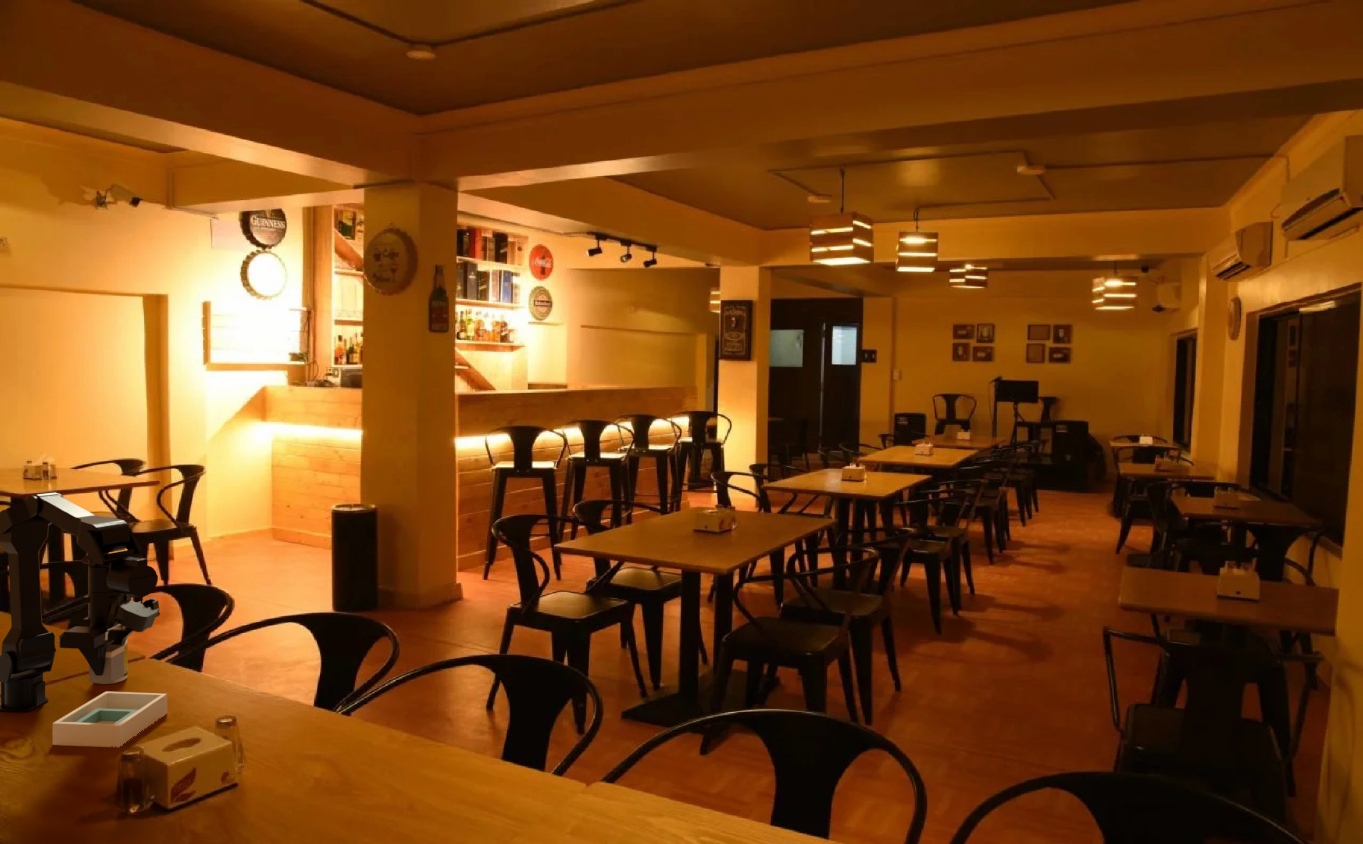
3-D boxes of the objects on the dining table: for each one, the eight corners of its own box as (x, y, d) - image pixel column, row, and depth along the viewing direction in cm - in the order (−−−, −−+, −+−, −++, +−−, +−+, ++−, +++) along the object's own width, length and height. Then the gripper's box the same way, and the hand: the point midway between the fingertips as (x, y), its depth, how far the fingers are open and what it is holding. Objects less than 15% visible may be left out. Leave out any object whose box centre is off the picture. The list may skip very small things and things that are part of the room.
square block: (88, 682, 171) (88, 650, 171) (102, 675, 176) (102, 644, 175) (111, 683, 172) (111, 651, 171) (124, 676, 176) (124, 644, 175)
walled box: (52, 745, 168) (52, 723, 168) (105, 711, 184) (105, 691, 184) (119, 747, 168) (119, 725, 168) (167, 713, 184) (167, 693, 184)
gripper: (121, 604, 163) (120, 691, 164) (176, 578, 182) (176, 657, 183) (56, 601, 163) (56, 688, 164) (119, 576, 182) (118, 654, 183)
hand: (106, 671), depth 173 cm, fingers closed on square block, 4 cm apart
